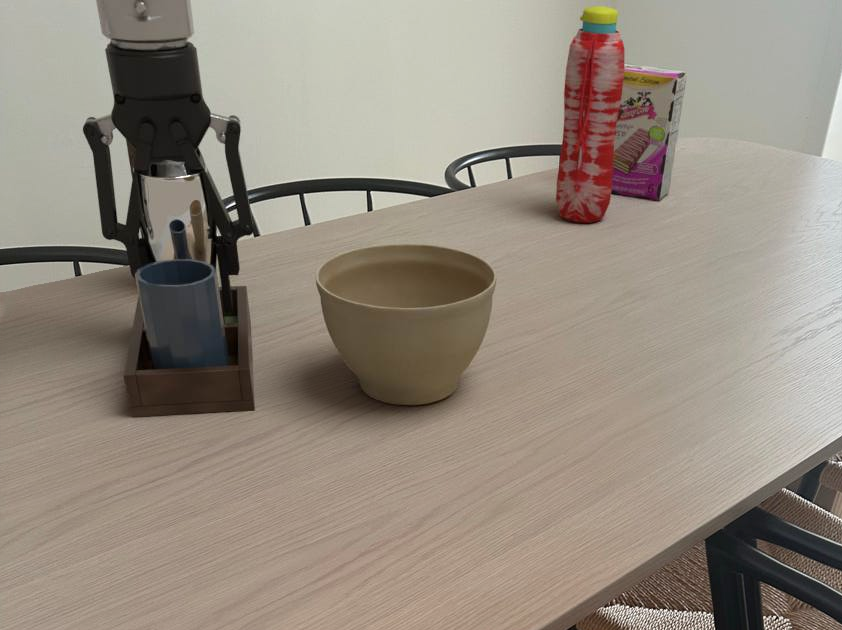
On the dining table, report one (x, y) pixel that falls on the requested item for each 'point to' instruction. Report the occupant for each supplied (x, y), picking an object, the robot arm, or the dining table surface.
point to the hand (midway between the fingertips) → (192, 308)
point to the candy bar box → (647, 131)
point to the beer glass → (176, 213)
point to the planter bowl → (406, 316)
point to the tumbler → (182, 314)
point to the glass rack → (194, 371)
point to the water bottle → (590, 117)
